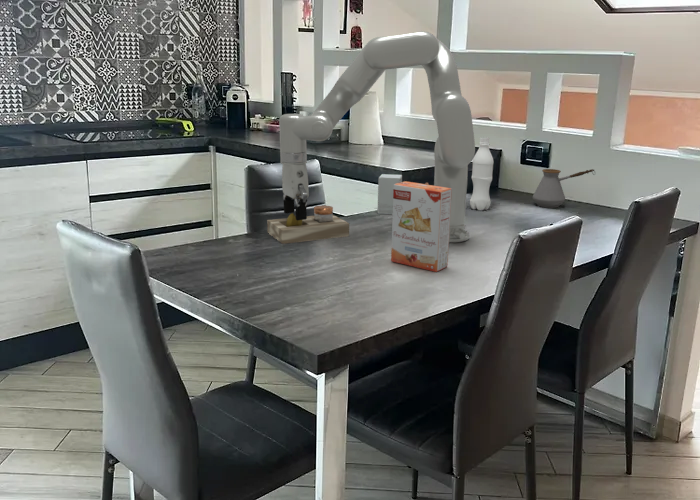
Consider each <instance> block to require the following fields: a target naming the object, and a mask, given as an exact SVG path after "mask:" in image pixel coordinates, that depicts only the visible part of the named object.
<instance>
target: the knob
mask: <svg viewBox="0 0 700 500" xmlns="http://www.w3.org/2000/svg"><path fill="white" fill-rule="evenodd" d="M301 224H302V220H296V214H294V213H289V215H288V216H287V222H286V227H292V226H301Z"/></svg>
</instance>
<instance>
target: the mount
mask: <svg viewBox="0 0 700 500" xmlns="http://www.w3.org/2000/svg"><path fill="white" fill-rule="evenodd" d="M287 218H288V217H287ZM287 218H286V217H285V218H276V219H275V218H274V219H267V220H266V222H267V223H266V224H267V230H266V233H267V234H268V233H269V234H268V235H269V236H271V237H272V236H273V237H272V238H273V239H275V240H276V239H277V241H278V242H279V243H281V244H282V245H285V244H293V243H294V244H295V243H302V242H311V241H319V240H330V239H337V238H338V239H339V238H346V237H350V223H349V222H347V221H346V220H344V219H342V218H340V217H338V216H336V215H334V214H333V221H332V222H322V223H318V222H317V221H315V220H314V215H309V216H307V219H305V220H302V224H301V226H292V227H286V222H287Z"/></svg>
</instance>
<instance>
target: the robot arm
mask: <svg viewBox="0 0 700 500" xmlns="http://www.w3.org/2000/svg"><path fill="white" fill-rule="evenodd" d="M416 66H421V67H422V68H423V69H424V71H425V74H426V77H427V82H428V88H429V95H430V103H431V115H432V118H433V119H434V120H435V122H436V127H437V134H438V135H437V136H438V137H437V138H436V140H435V145H434V150H433V155H434V177H433V179H434V181H433V185H434V186H439V187H446V188H451V189H452V195H451V214H450V232H449V243H462V242H466V241H468V240H469V239H470V231H466V224H465V220H466V207H467V204H466V203H467V202H466V201H467V189H468V171H469V170H468V169H469V167H468V165H469V164H471V163H472V162H473V158H474V156H475V154H476V143H475V133H474V124H473V117H472V116H473V115H472V110H471V106H470V104H469V102H468V100H467V99H466V98H465V97H464V96H462V90H461V83H460V78H459V70H458V67H457V66H458V65H457V62H456V59H455V56H454V55H453V53H452V52H451V50H450V49H449V47H447V45H446V44H445V43H443V42H442V41H441V40H440V39H438V38H437V37H436V36H435V34H433V33H431V32H429V31H424V30H423V31H422V30H421V31H417V32H410V33H409V32H408V33H402V34H395V35H388V36H377V37H374V38H372V39H370V40H369V41H368V42H367V43H366V44H365V45H364V47H362V49H361V51H359V53H357V55H356V57H355V58H354V60H352V62H351V63H350V64H349V66H348V67H347V68H346V69H345V70H344V71H343V72H342V74H341V75H340V76H339V78H338V79H337V81H336V82H335V84H333V87H332V88H331V90H330V91H329V92H328V94H327V95H326V96H325V97H324V98H323V100H322V101H321V102H320V104H319V105H318V106H317V107H316V109H315V110H314V111H313V112H312V114H310V115H303V114H300V113H284V114H282V115H281V116H280V117H279V119H278V121H279V122H278V123H279V153H280V158H279V159H280V164H282V169H281V170H282V172H281V185H282V186H281V188H282V194H283V196H282V198H283V213H284V214H291V213H293V214H294V213H295V216H296V220H305V219H307V212H308V210H307V206H308V203H307V202H308V198H309V196H310V192H309V191H310V189H309V187H310V186H309V175H308V169H307V163H308V160H307V159H308V156H307V153H308V151H307V141H312V142H324V141H326V140H328V139H329V138H330V137H331V135H332V133H333V130H334V128H335V127H336V126H337V125H338V123H339V122H340V121H341V119H342V118H343V117H344V115H346V114H347V112H348V111H349V110H350V109H351V108H352V107H353V106H354V105H356V104H357V103H359V102H360V101H361V100H362V99H363V98H364V97H365V96H366V94H367V93H368V92H369V91H370V89H372V87H373V86H374V84H376V82H378V80H379V78H380V77H381V76H382V75H383V74H384V72H386V70H394V69H401V68H402V69H403V68H409V67H410V68H411V67H416ZM295 205H296V206H295Z"/></svg>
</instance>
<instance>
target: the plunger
mask: <svg viewBox="0 0 700 500" xmlns="http://www.w3.org/2000/svg"><path fill="white" fill-rule="evenodd" d="M333 213H334V207H333V206H332V205H325V204H323V205H315V206H314V207H313V214H314V215H313V216H314V220H315V221H317V222H318V223H322V222H332V221H333V215H334V214H333Z"/></svg>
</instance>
